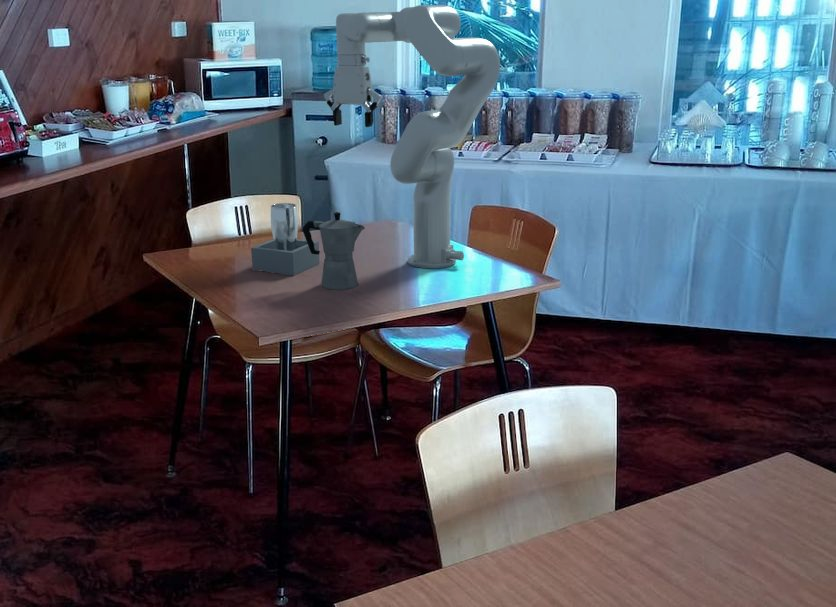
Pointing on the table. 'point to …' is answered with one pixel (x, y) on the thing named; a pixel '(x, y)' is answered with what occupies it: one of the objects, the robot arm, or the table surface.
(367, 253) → the table surface
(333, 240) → the coffeepot
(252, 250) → the grey open box
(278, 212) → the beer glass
